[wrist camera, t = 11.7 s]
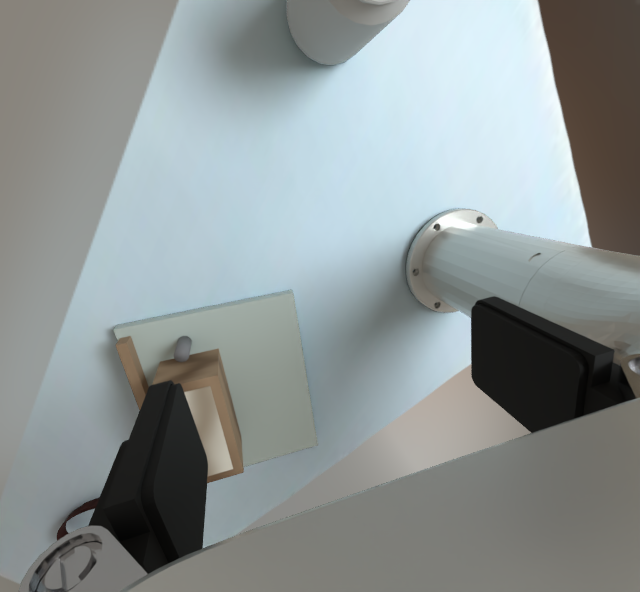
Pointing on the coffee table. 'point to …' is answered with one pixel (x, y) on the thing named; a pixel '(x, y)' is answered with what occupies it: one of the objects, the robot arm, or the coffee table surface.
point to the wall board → (235, 366)
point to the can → (338, 25)
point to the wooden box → (209, 409)
